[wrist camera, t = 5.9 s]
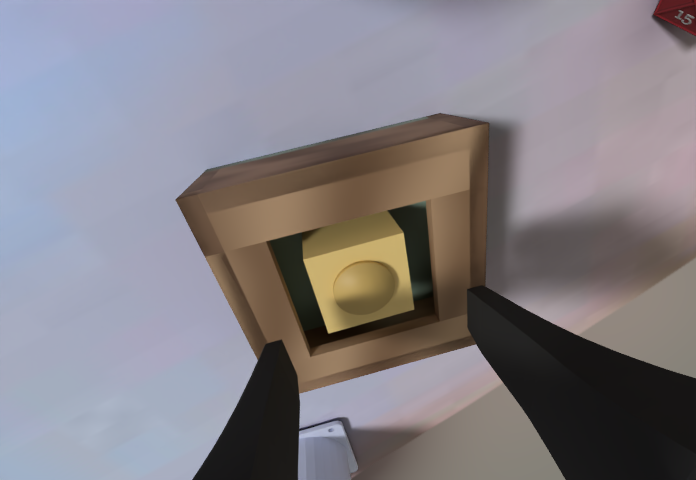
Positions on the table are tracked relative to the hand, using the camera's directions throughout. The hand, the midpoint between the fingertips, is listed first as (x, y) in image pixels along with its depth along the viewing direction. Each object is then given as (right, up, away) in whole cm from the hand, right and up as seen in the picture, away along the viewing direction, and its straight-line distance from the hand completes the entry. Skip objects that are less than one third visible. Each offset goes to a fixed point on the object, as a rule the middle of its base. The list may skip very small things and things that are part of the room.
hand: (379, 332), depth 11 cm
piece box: (-1, +3, +6) cm, 7 cm away
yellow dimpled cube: (-1, +3, +6) cm, 7 cm away
